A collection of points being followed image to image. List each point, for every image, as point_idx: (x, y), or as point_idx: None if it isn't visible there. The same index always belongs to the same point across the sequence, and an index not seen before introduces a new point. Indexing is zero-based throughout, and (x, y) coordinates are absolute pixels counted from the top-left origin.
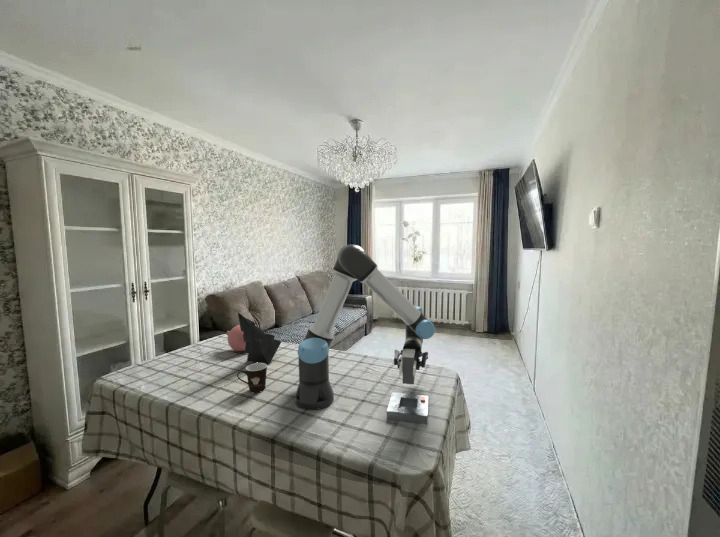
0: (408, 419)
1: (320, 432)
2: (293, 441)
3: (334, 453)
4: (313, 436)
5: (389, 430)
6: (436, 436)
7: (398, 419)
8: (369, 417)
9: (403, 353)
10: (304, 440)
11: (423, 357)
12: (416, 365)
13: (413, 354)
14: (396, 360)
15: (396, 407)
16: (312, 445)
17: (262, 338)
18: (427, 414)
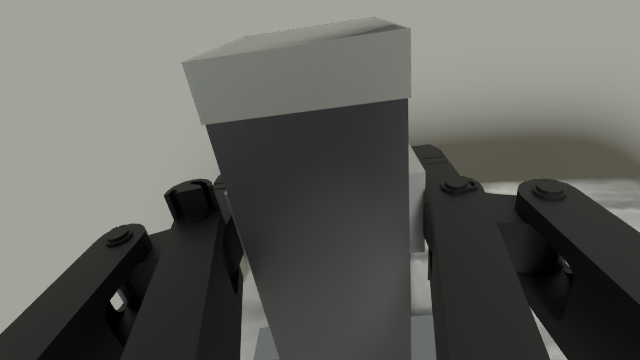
0: None
1: (617, 216)
2: (637, 179)
3: (498, 183)
4: (614, 201)
5: (410, 280)
6: (248, 296)
7: None
8: (541, 332)
9: (360, 19)
10: (615, 187)
11: (21, 348)
12: None
13: (247, 36)
14: (508, 196)
15: (423, 357)
16: (574, 184)
17: None
18: (258, 339)
